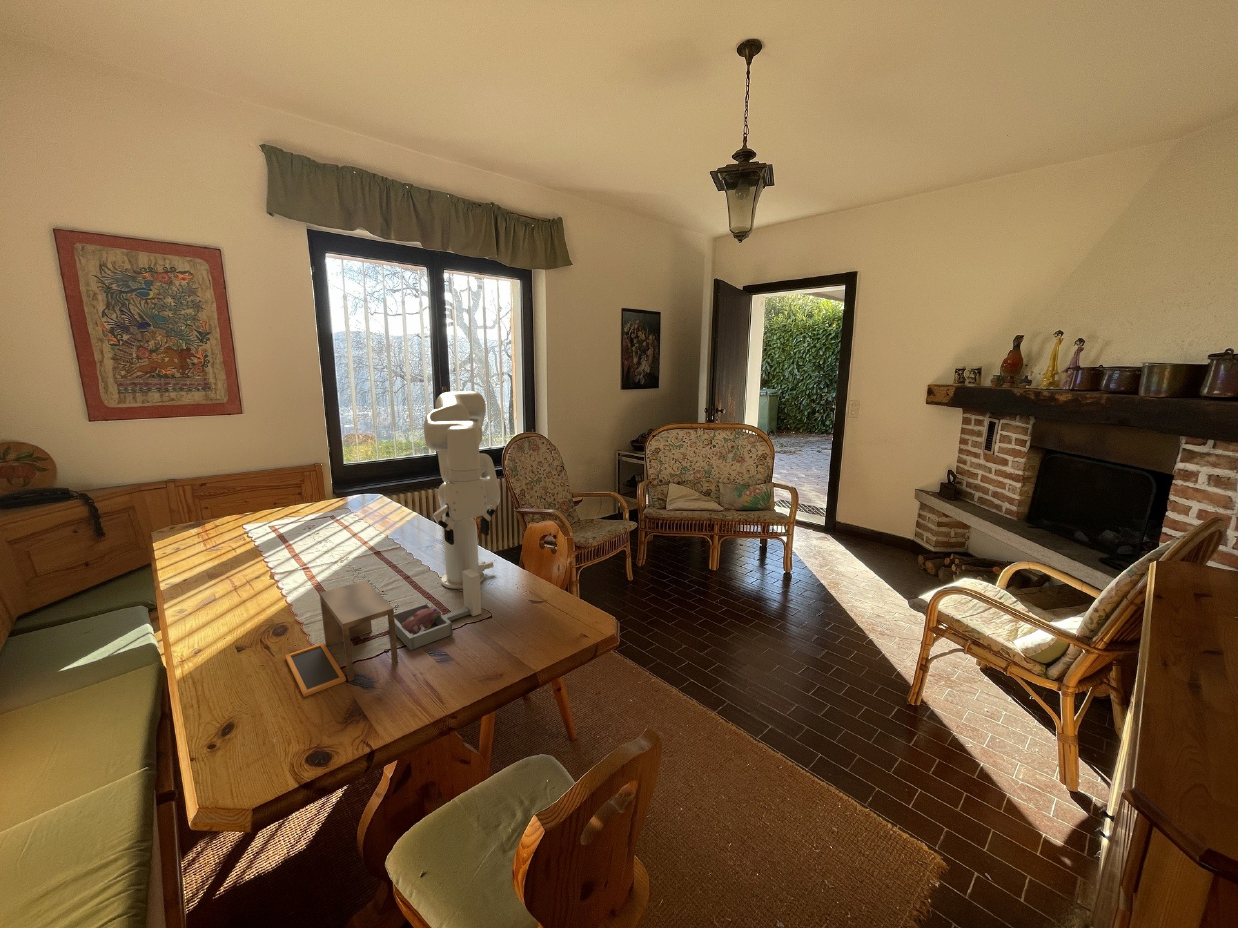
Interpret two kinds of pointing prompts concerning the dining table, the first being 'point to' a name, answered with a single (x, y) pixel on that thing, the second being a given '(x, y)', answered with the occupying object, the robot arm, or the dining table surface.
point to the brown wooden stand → (354, 617)
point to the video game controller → (421, 620)
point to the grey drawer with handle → (445, 626)
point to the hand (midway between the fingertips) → (467, 538)
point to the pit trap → (314, 669)
